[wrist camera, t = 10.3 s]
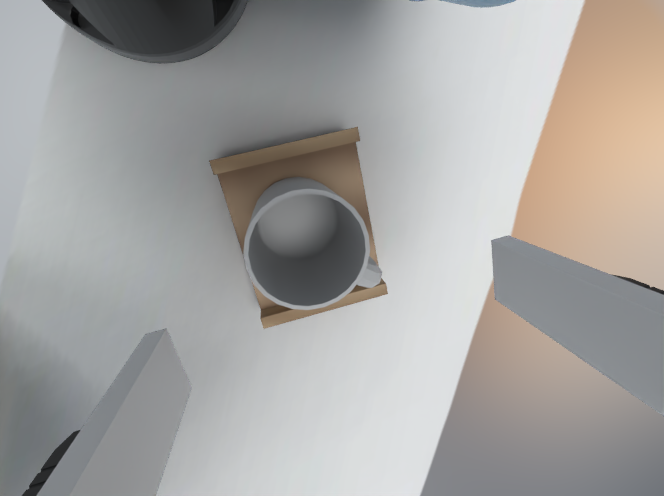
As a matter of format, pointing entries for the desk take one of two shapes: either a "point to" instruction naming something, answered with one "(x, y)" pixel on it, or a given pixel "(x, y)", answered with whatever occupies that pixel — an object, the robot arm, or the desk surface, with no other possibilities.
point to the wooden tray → (308, 162)
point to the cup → (307, 246)
